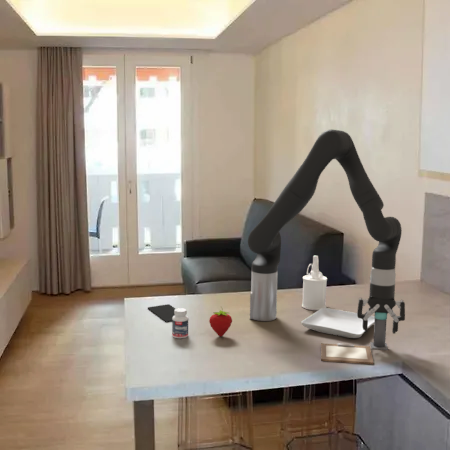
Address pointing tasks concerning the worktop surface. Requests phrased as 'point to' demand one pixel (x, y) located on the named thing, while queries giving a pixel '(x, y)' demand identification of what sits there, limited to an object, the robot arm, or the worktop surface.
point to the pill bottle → (180, 323)
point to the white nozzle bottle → (314, 288)
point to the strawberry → (220, 322)
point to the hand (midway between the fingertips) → (379, 331)
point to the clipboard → (346, 353)
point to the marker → (380, 329)
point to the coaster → (379, 347)
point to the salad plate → (337, 322)
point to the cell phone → (163, 312)
